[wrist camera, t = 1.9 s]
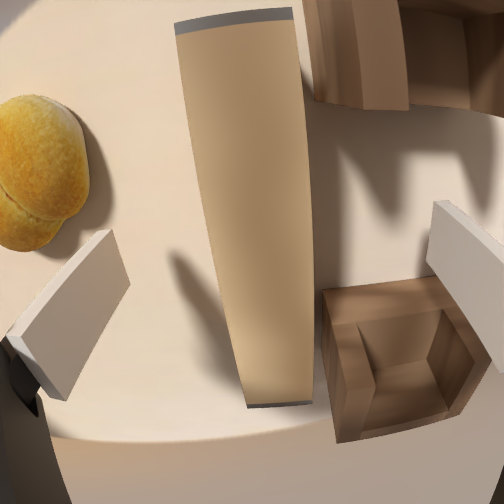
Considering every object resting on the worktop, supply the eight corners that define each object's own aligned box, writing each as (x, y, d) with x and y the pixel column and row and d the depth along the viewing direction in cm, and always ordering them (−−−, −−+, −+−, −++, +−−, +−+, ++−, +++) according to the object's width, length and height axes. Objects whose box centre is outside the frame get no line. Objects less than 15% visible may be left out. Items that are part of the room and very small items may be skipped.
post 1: (445, 14, 10) (540, -5, 3) (454, 105, 12) (554, 132, 6) (301, -2, 10) (334, -71, 4) (314, 100, 12) (363, 109, 6)
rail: (250, 334, 19) (247, 408, 14) (206, 47, 11) (173, 23, 7) (302, 330, 19) (312, 404, 14) (280, 39, 11) (291, 7, 6)
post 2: (321, 350, 20) (336, 443, 14) (322, 289, 17) (347, 390, 11) (422, 335, 19) (459, 414, 13) (438, 275, 17) (493, 356, 11)
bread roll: (123, 169, 14) (85, 196, 11) (39, 255, 17) (5, 289, 14) (43, 59, 11) (-6, 60, 8) (-25, 163, 14) (-66, 184, 10)
